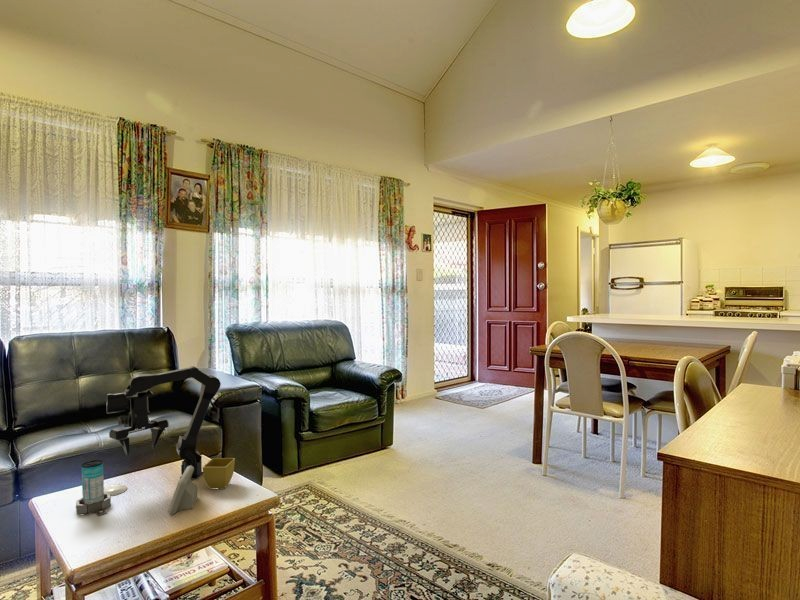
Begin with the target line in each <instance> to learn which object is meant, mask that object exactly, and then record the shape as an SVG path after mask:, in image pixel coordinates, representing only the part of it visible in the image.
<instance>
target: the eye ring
mask: <svg viewBox="0 0 800 600" xmlns="http://www.w3.org/2000/svg"><path fill="white" fill-rule="evenodd" d="M111 497H112V496H110V493H104V500H103V501H101V502H98V503H93V504H89V505H85V504H83V497H81V498H79V499H77V500H76V501H75V504H76V506H75V507H76V508H75V510H76V515H77V514H84V515H83V516H89V514H90V515H93V514H95V515H96V516H98V517H100V516H103V515H106V514H108V511H106V510H107V509H108V508H110V507H111V506H112V505H111V504H112V503H111V500H112V499H111Z"/></svg>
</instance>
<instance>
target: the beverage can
mask: <svg viewBox="0 0 800 600" xmlns="http://www.w3.org/2000/svg"><path fill="white" fill-rule="evenodd" d="M81 485H82V486H81V488H82V490H81V491H82V498H83V504H85V505H89V504H93V503H98V502H101V501H103V500H104V487H105V482H104V461H103V460H102V459H101V460H100V459H95V460H89V461H87V462H84V463H82V464H81Z"/></svg>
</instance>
